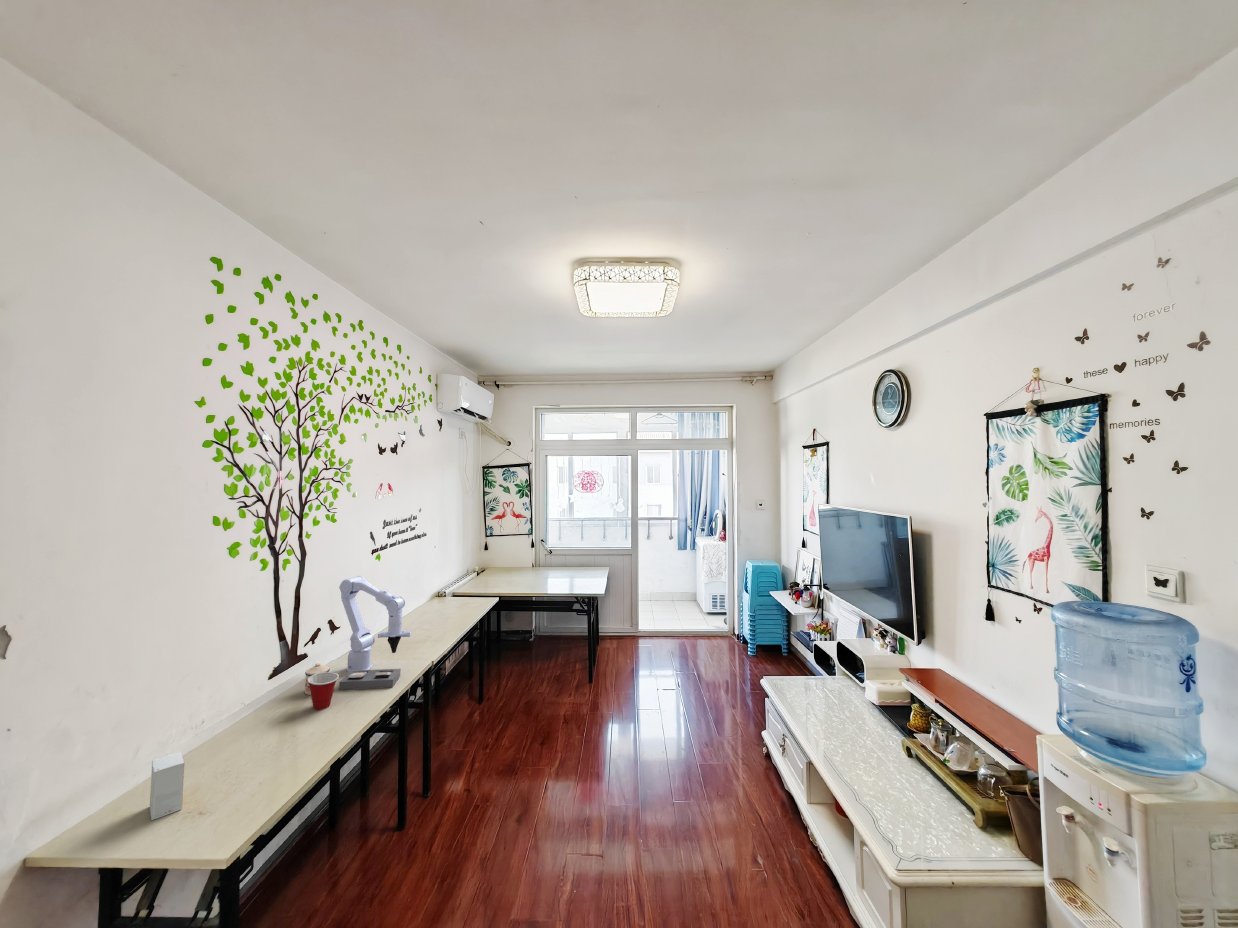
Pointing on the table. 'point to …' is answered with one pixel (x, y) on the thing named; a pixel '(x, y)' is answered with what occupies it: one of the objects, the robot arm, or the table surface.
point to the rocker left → (357, 674)
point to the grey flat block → (370, 679)
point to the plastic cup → (322, 689)
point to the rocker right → (383, 673)
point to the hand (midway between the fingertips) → (394, 652)
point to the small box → (166, 785)
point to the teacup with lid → (311, 671)
